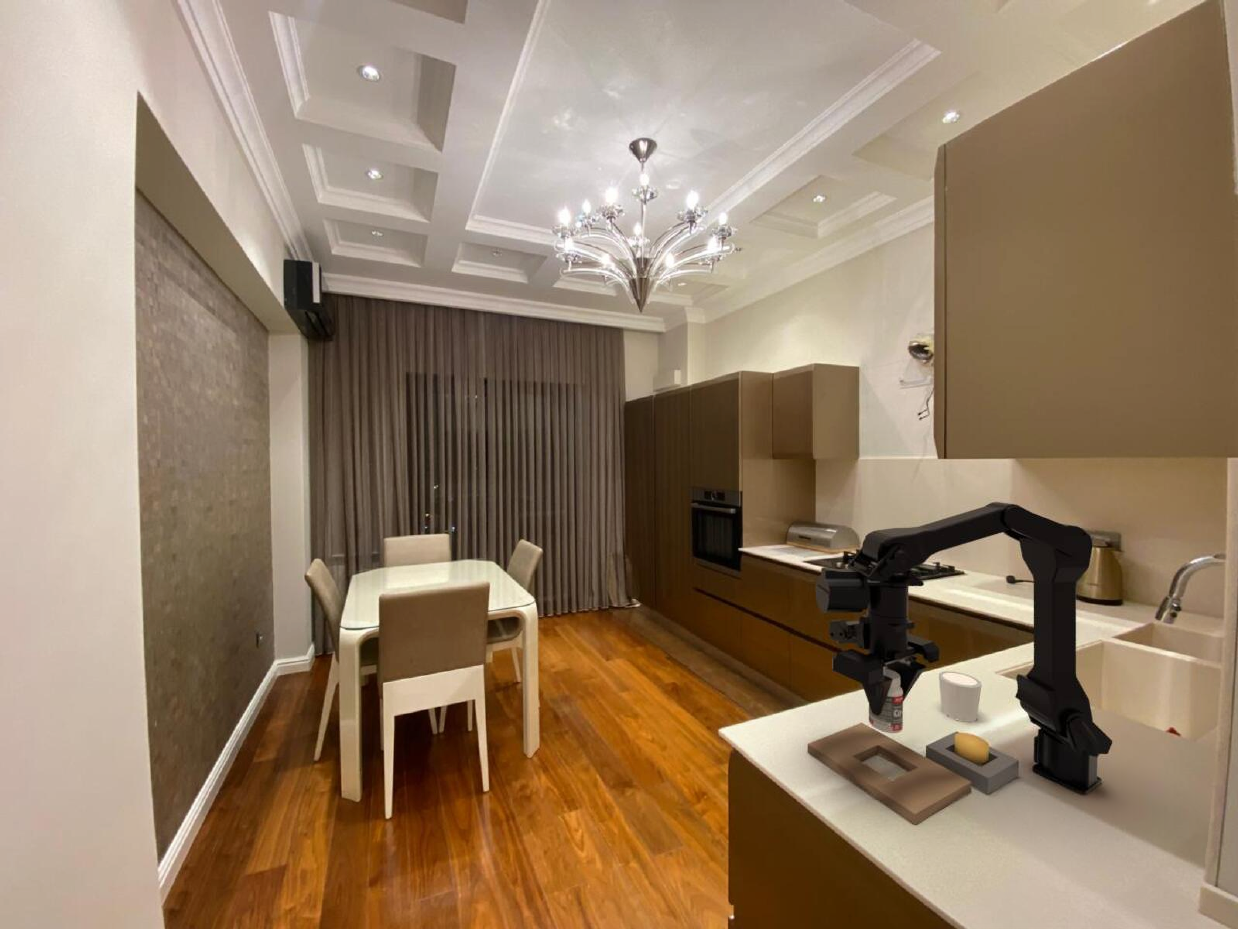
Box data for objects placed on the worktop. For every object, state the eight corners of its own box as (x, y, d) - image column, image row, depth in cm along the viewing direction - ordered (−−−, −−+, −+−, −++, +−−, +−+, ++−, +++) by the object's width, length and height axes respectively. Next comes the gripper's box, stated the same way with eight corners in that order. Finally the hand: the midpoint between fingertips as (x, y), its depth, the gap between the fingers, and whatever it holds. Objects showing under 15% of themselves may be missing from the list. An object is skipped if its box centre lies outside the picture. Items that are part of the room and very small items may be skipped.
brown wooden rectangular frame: (971, 792, 72) (971, 782, 72) (914, 825, 66) (915, 814, 66) (861, 730, 88) (861, 722, 88) (807, 752, 82) (807, 743, 82)
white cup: (929, 709, 96) (930, 674, 96) (951, 702, 99) (952, 668, 99) (967, 727, 90) (967, 689, 89) (988, 719, 93) (989, 682, 92)
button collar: (1018, 776, 76) (1018, 760, 76) (988, 795, 72) (988, 778, 72) (956, 745, 84) (956, 731, 84) (925, 760, 80) (925, 745, 80)
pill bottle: (900, 738, 74) (901, 683, 74) (865, 727, 77) (866, 674, 76) (904, 724, 77) (905, 672, 77) (871, 714, 80) (872, 664, 80)
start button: (994, 759, 77) (994, 744, 77) (979, 768, 75) (979, 752, 75) (963, 745, 81) (964, 730, 81) (948, 752, 79) (949, 737, 79)
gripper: (876, 591, 88) (876, 677, 88) (804, 606, 79) (803, 701, 80) (941, 608, 78) (940, 704, 79) (866, 628, 69) (865, 736, 70)
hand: (886, 710), depth 77 cm, fingers closed on pill bottle, 5 cm apart
